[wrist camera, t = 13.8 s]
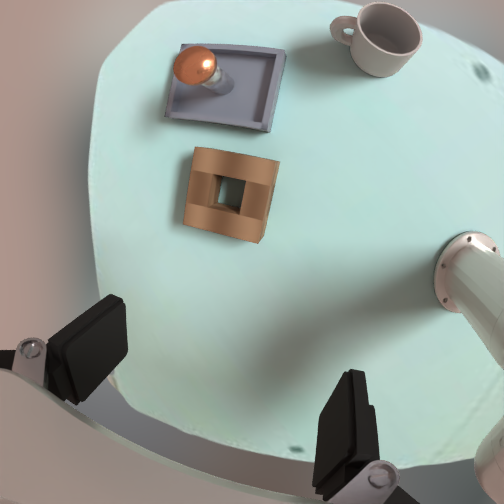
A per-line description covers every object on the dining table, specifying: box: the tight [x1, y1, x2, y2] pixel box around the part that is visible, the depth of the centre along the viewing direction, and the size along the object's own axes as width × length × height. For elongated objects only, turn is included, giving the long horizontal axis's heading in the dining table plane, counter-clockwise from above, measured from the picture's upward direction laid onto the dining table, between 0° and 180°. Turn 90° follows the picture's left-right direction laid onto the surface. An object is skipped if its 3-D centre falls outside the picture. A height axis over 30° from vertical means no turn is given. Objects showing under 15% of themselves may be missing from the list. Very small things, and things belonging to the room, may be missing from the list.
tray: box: [165, 44, 286, 132], centre depth 32 cm, size 14×11×2 cm
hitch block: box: [183, 147, 280, 244], centre depth 35 cm, size 10×10×4 cm
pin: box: [173, 46, 235, 95], centre depth 28 cm, size 4×4×10 cm
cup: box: [330, 2, 423, 77], centre depth 23 cm, size 7×10×9 cm
